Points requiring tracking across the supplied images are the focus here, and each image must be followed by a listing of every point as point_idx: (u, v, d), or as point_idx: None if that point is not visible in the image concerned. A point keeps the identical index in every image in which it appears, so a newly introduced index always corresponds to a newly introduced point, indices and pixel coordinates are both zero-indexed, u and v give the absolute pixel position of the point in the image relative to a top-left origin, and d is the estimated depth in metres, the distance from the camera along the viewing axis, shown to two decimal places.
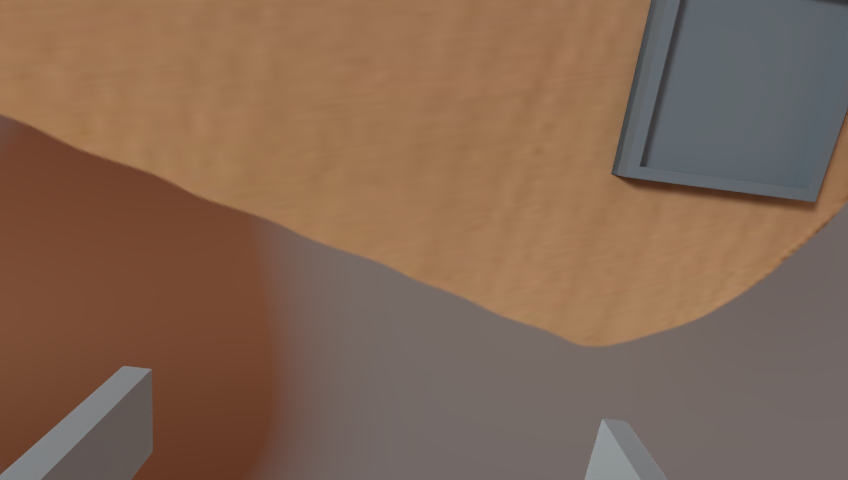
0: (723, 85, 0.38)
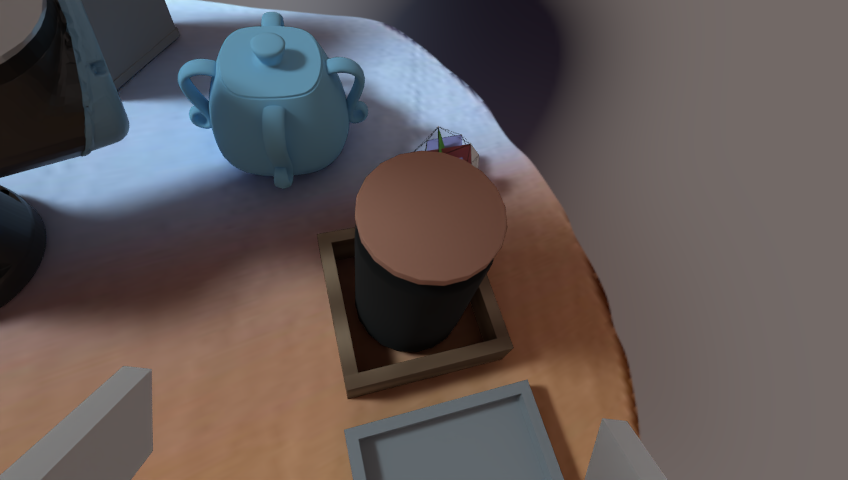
0: None
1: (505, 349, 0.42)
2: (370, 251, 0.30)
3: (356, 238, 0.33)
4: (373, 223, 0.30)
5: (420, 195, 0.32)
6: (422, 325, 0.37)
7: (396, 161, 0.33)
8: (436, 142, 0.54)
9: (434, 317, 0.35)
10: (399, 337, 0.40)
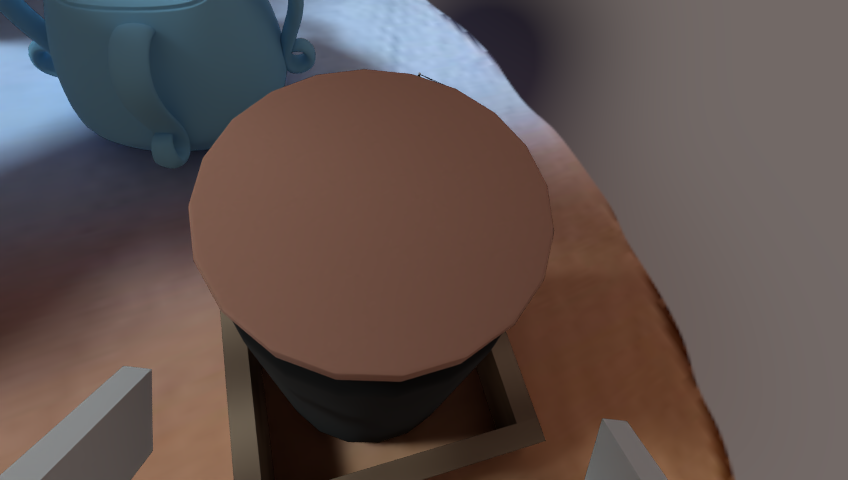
0: None
1: (531, 443, 0.24)
2: None
3: None
4: (232, 225, 0.12)
5: (354, 160, 0.14)
6: (375, 424, 0.19)
7: (306, 88, 0.15)
8: None
9: (395, 415, 0.17)
10: (341, 431, 0.22)
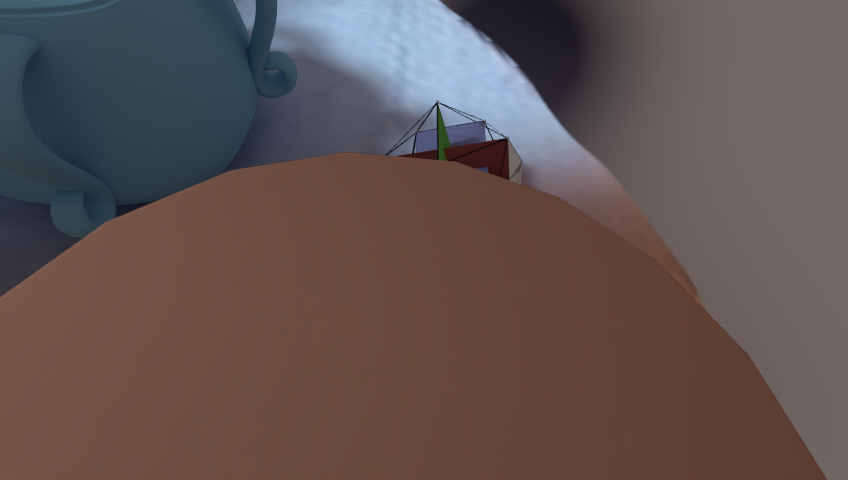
0: None
1: None
2: None
3: None
4: None
5: (306, 448, 0.05)
6: None
7: (198, 210, 0.06)
8: (434, 136, 0.27)
9: None
10: None
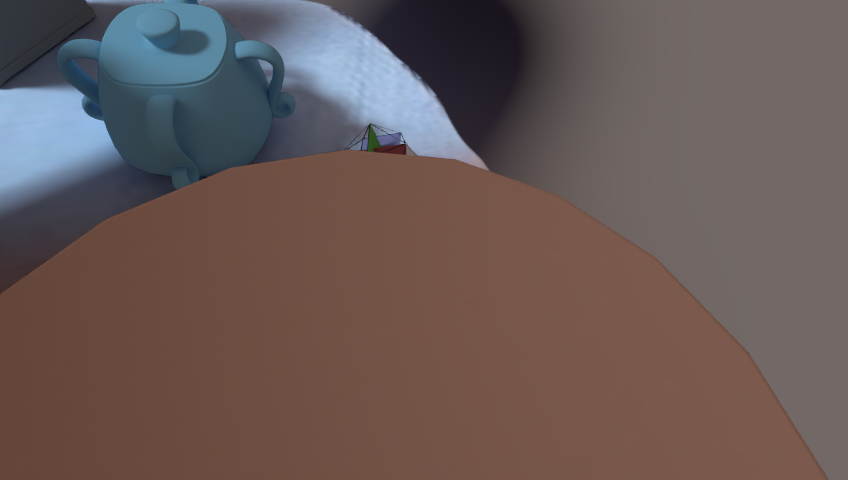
0: None
1: None
2: None
3: None
4: None
5: (307, 444, 0.05)
6: None
7: (198, 208, 0.06)
8: None
9: None
10: None
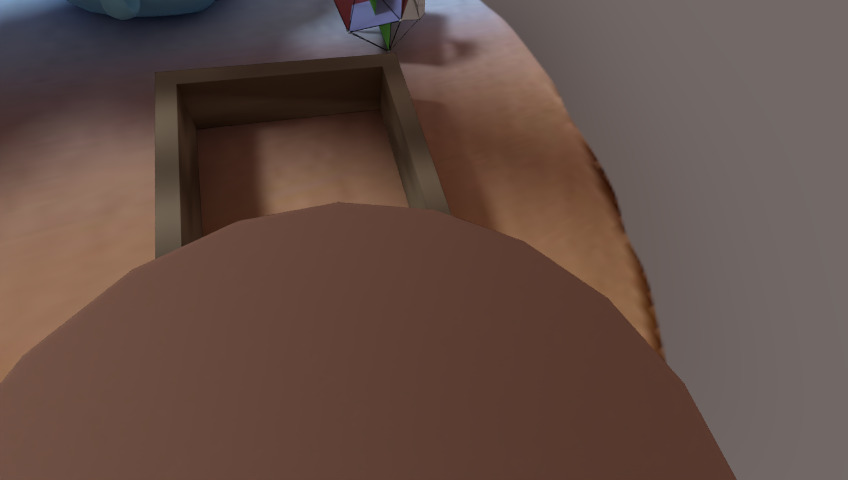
0: None
1: None
2: None
3: None
4: None
5: (301, 464, 0.06)
6: None
7: (210, 259, 0.07)
8: None
9: None
10: None
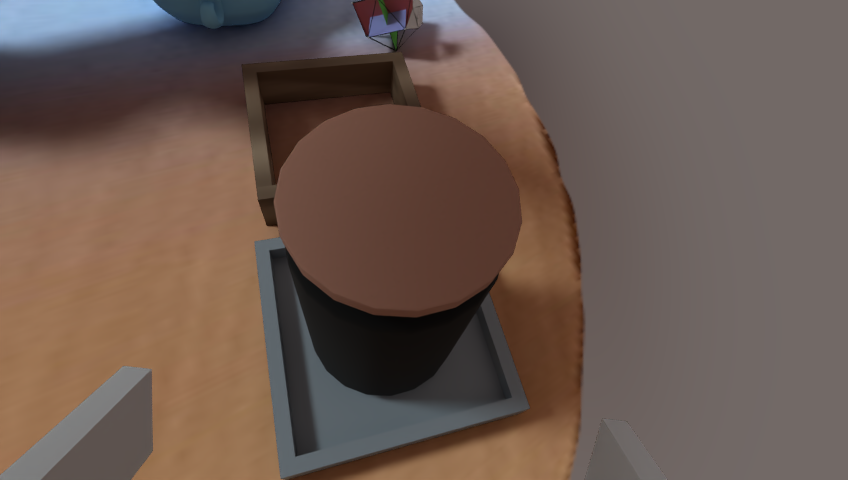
0: None
1: None
2: (294, 259, 0.18)
3: None
4: (304, 213, 0.18)
5: (383, 170, 0.20)
6: (393, 367, 0.25)
7: (349, 118, 0.21)
8: None
9: (409, 358, 0.23)
10: (364, 380, 0.28)
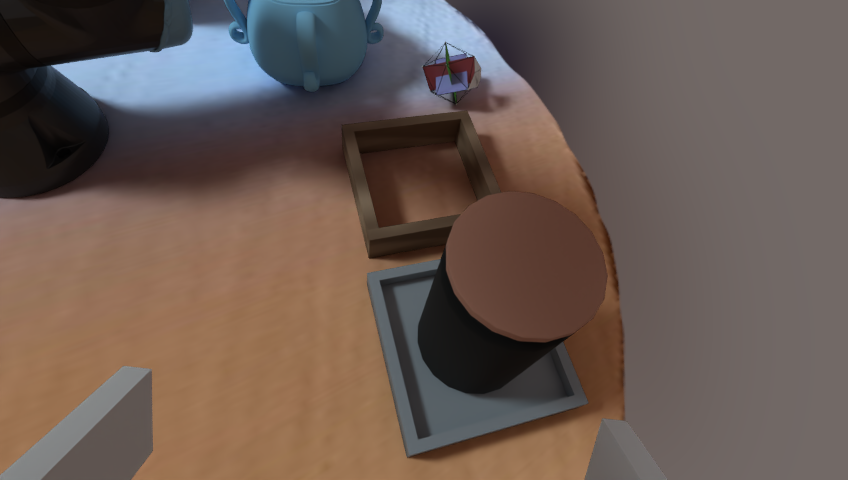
0: None
1: None
2: (467, 305, 0.27)
3: (443, 286, 0.30)
4: (468, 274, 0.28)
5: (513, 241, 0.30)
6: (503, 373, 0.34)
7: (484, 203, 0.31)
8: (443, 60, 0.62)
9: (518, 367, 0.33)
10: (472, 382, 0.38)
